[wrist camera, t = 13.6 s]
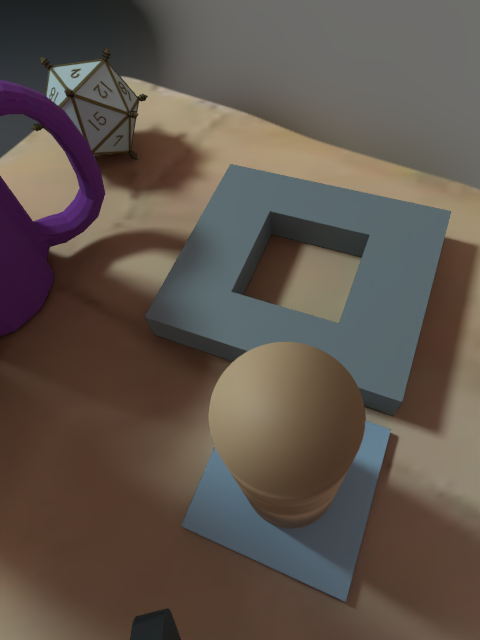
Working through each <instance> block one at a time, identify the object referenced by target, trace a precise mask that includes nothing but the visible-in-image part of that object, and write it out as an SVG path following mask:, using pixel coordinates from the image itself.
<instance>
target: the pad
mask: <svg viewBox="0 0 480 640" xmlns="http://www.w3.org/2000/svg"><path fill="white" fill-rule="evenodd" d="M390 431H391V429H388V428H385V427H382V426H379V425H376V424H374V423H371V422H368V421H365V431H364V436H363V440H362V443H361V446H360V448H359V451H358V453H357V454H356V456H355V458H354V460H353V462H352V464H351V466H350V468H349V470H348V472H347V474H346V476H345V477H344V479H343V481H342V483H341V485H340V487H339V489H338V491H337V493H336V495H335V497H334V499H333V501H332V502H331V504H330V506H329V508H328V509H327V511H326V512H325V513H324V514H323V515H322V516H321V518H319V519H318V520H317V521H315V522H314V523H312V524H310V525H307V526H305V527H301V528H294V529H290V528H282V527H278V526H275V525H273V524H271V523H269V522H267V521H266V520H264V519H263V518H262V517H261V516H260V515H258V514H257V512H256V511H255V510H254V509H253V507H252V506H251V504H250V502H249V501H248V499H247V498H246V496H245V495H244V493H243V491H242V490H241V488H240V487H239V485H238V484H237V482H236V481H235V479H234V477H233V476H232V474H231V473H230V471H229V470H228V468H227V467H226V465H225V463H224V462H223V460H222V459H221V457H220V456H219V454H218V452H217V450H216V448H214V450H213V452H212V455H211V457H210V459H209V462H208V464H207V466H206V469H205V471H204V473H203V476H202V478H201V480H200V483H199V485H198V488H197V490H196V492H195V495H194V497H193V499H192V502H191V504H190V506H189V509H188V511H187V513H186V516H185V518H184V520H183V523H182V525H181V526H182V527H184V528H186V529H188V530H190V531H192V532H195V533H197V534H199V535H201V536H203V537H205V538H208V539H210V540H212V541H214V542H216V543H218V544H221V545H223V546H225V547H227V548H229V549H232V550H234V551H236V552H238V553H240V554H242V555H245V556H247V557H249V558H251V559H253V560H255V561H258V562H260V563H262V564H264V565H266V566H268V567H271V568H273V569H275V570H277V571H279V572H281V573H284V574H286V575H288V576H290V577H292V578H295V579H297V580H299V581H301V582H303V583H305V584H308V585H310V586H312V587H314V588H316V589H318V590H321V591H323V592H325V593H327V594H329V595H331V596H334V597H336V598H338V599H340V600H342V601H344V602H346V599H347V595H348V592H349V588H350V584H351V580H352V576H353V573H354V569H355V565H356V561H357V557H358V553H359V550H360V546H361V542H362V538H363V534H364V530H365V527H366V523H367V519H368V515H369V511H370V507H371V504H372V500H373V496H374V492H375V488H376V484H377V481H378V477H379V473H380V469H381V465H382V461H383V458H384V454H385V450H386V446H387V442H388V439H389V435H390Z"/></svg>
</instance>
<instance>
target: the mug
mask: <svg viewBox="0 0 480 640" xmlns="http://www.w3.org/2000/svg"><path fill="white" fill-rule="evenodd" d="M7 114H24V115H26V116H28V117H30V118H32V119H34V120H36V121H38V122H39V123H40V124H41V125H43V126H44V127H45V128H46V129H47V130H48V131H49V132H50V133H51V135H52V136H53V137H54V138H55V140H56V141H57V142H58V144H59V145H60V146H61V147H62V149H63V150H64V151H65V153H66V155H67V157H68V159H69V161H70V163H71V165H72V167H73V169H74V171H75V173H76V175H77V179H78V183H79V187H80V189H79V191H78V193H77V195H76V197H75V199H74V200H73V201H72V203H71V204H70V205H69V206H68V207H67V208H66V209H65V210H64V211H63V212H61V213H58V214H55V215H51V216H48V217H45V218H42V219H39V220H36V221H32V219H31V218H30V217H29V215H28V214H27V212H26V211H25V210H24V208H23V207H22V205H21V204H20V203H19V201H18V200H17V198H16V197H15V196H14V194H13V193H12V191H11V190H10V189H9V187H8V186H7V185H6V183H5V182H4V180H3V179H2V178H1V176H0V336H3V335H6V334H8V333H11V332H14V331H16V330H18V329H19V328H20V327H21V326H22V325H23V324H24V323H25V322H26V321H28V320H29V319H30V318H31V317H32V316H33V315H34V314H35V313H36V312H38V311H39V310H40V309H41V308H42V306H43V304H44V302H45V300H46V297H47V295H48V293H49V291H50V288H51V286H52V284H53V282H54V277H53V272H52V268H51V266H50V265H49V263H48V261H47V256H48V252H49V249H50V247H51V246H55V245H58V244H62V243H66V242H67V241H69V240H71V239H72V238H74V237H76V236H77V235H79V234H80V233H82V232H84V231H85V230H86V229H87V228H88V227H89V226H90V225H91V224H92V222H93V221H94V220H95V219H96V218H97V217H98V215H99V212H100V209H101V206H102V202H103V199H104V196H105V190H104V185H103V180H102V175H101V171H100V168H99V166H98V164H97V162H96V159H95V157H94V155H93V153H92V151H91V149H90V146H89V144H88V142H87V140H86V139H85V138H84V136H83V135H82V134H81V132H80V131H79V130H78V128H77V127H76V126H75V124H74V123H73V121H72V120H71V119H70V117H69V116H68V115H67V113H66V112H65V111H64V110H63V109H61V108H60V107H59V106H58V105H56V104H55V103H54V102H53V101H51V100H50V99H49V98H48V97H46V96H45V95H44V94H42V93H41V92H38V91H35V90H32V89H30V88H27V87H24V86H21V85H19V84H15V83H11V82H7V81H2V80H0V116H3V115H7Z"/></svg>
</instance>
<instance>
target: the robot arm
mask: <svg viewBox="0 0 480 640" xmlns="http://www.w3.org/2000/svg"><path fill="white" fill-rule="evenodd" d="M130 640H181V639H180V636H179V633H178V630H177V627H176V625H175V622H174V619H173V616H172V613H171V611H170V610H169V609H168V608H167V609H163V610H159V611H155V612H152V613H148V614H144V615H140V616H136V617H135V619H134V621H133V625H132V631H131V637H130Z"/></svg>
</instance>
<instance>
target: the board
mask: <svg viewBox="0 0 480 640" xmlns="http://www.w3.org/2000/svg"><path fill="white" fill-rule="evenodd" d="M450 214H451V211H448V210H443V209H438V208H434V207H429V206H424V205H420V204H415V203H410V202H406V201H401V200H396V199H391V198H387V197H382V196H377V195H373V194H368V193H363V192H359V191H354V190H349V189H345V188H340V187H335V186H331V185H326V184H321V183H317V182H312V181H307V180H302V179H298V178H293V177H288V176H284V175H279V174H274V173H270V172H265V171H260V170H256V169H251V168H246V167H242V166H237V165H232V164H230V166H229V167H228V169H227V171H226V173H225V175H224V176H223V178H222V180H221V182H220V183H219V185H218V187H217V189H216V191H215V192H214V194H213V196H212V198H211V199H210V201H209V203H208V205H207V207H206V208H205V210H204V212H203V214H202V215H201V217H200V219H199V221H198V223H197V224H196V226H195V228H194V230H193V231H192V233H191V235H190V237H189V239H188V240H187V242H186V244H185V246H184V247H183V249H182V251H181V253H180V254H179V256H178V258H177V260H176V262H175V263H174V265H173V267H172V269H171V270H170V272H169V274H168V276H167V278H166V279H165V281H164V283H163V285H162V286H161V288H160V290H159V292H158V294H157V295H156V297H155V299H154V301H153V302H152V304H151V306H150V308H149V310H148V311H147V313H146V315H145V319H146V321H147V322H148V324H149V326H150V328H151V329H152V331H153V333H154V334H155V335H156V336H159V337H162V338H165V339H168V340H171V341H174V342H177V343H180V344H183V345H186V346H189V347H192V348H195V349H198V350H201V351H204V352H207V353H209V354H212V355H215V356H218V357H221V358H224V359H227V360H230V361H235V360H236V359H237V358H238V357H240V356H241V355H243V354H244V353H246V352H248V351H250V350H252V349H254V348H256V347H259V346H262V345H265V344H269V343H275V342H296V343H302V344H306V345H310V346H313V347H315V348H318V349H320V350H322V351H324V352H326V353H328V354H329V355H331V356H332V357H334V358H335V359H336V360H338V361H339V362H340V363H341V364H342V365H343V366H344V367H345V368H346V369H347V370H348V372H349V373H350V374H351V376H352V377H353V379H354V380H355V382H356V384H357V386H358V388H359V390H360V393H361V395H362V398H363V402H364V406H366V407H369V408H371V409H374V410H377V411H380V412H383V413H386V414H389V415H392V416H394V414H395V413H396V411H397V410H398V408H399V406H400V405H401V403H402V401H403V397H404V393H405V389H406V385H407V381H408V378H409V374H410V370H411V366H412V362H413V358H414V354H415V350H416V346H417V343H418V339H419V335H420V331H421V327H422V323H423V319H424V315H425V311H426V308H427V304H428V300H429V296H430V292H431V288H432V284H433V280H434V276H435V273H436V269H437V265H438V261H439V257H440V253H441V249H442V245H443V241H444V237H445V234H446V230H447V226H448V222H449V218H450ZM271 234H272V235H276V236H280V237H284V238H288V239H292V240H296V241H300V242H304V243H308V244H312V245H316V246H320V247H324V248H328V249H332V250H336V251H340V252H344V253H348V254H352V255H356V256H360V257H362V259H361V262H360V264H359V267H358V270H357V273H356V276H355V279H354V282H353V285H352V287H351V290H350V293H349V296H348V299H347V302H346V305H345V308H344V310H343V313H342V316H341V319H340V322H339V323H336V322H332V321H329V320H326V319H322V318H319V317H315V316H312V315H309V314H305V313H302V312H298V311H295V310H292V309H288V308H285V307H281V306H278V305H275V304H271V303H268V302H265V301H261V300H258V299H254V298H251V297H248V296H244V295H243V294H244V292H245V290H246V288H247V286H248V284H249V281H250V279H251V277H252V275H253V273H254V271H255V269H256V266H257V264H258V262H259V260H260V258H261V256H262V254H263V251H264V249H265V247H266V245H267V243H268V241H269V238H270V236H271Z"/></svg>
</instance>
